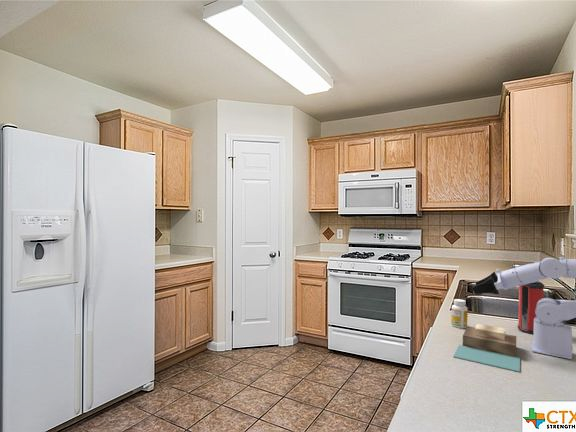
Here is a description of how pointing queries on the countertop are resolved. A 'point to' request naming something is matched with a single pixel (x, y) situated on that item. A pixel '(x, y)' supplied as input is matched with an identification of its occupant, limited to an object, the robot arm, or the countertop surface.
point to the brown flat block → (490, 343)
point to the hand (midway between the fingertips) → (475, 288)
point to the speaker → (529, 305)
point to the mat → (488, 358)
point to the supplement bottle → (459, 314)
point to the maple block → (490, 331)
